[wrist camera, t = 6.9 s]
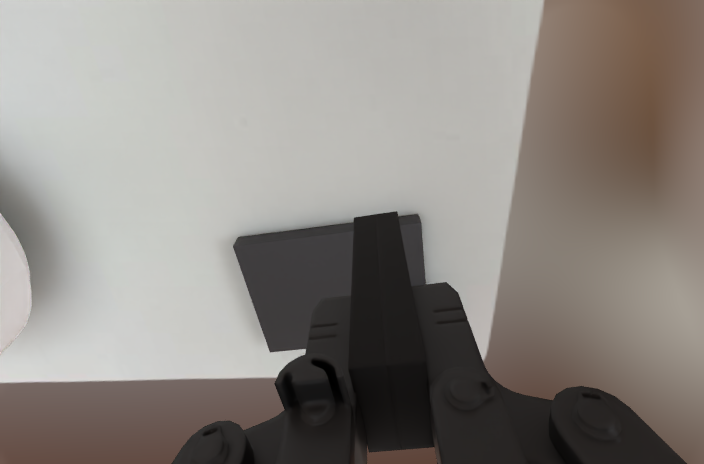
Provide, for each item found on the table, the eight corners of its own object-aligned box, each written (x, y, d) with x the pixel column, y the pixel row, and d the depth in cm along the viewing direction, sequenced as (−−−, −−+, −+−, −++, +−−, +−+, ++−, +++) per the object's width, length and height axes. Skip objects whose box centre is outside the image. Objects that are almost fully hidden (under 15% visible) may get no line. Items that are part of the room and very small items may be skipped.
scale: (435, 211, 28) (443, 230, 25) (441, 330, 33) (448, 355, 31) (237, 237, 29) (226, 257, 27) (275, 346, 35) (268, 373, 32)
